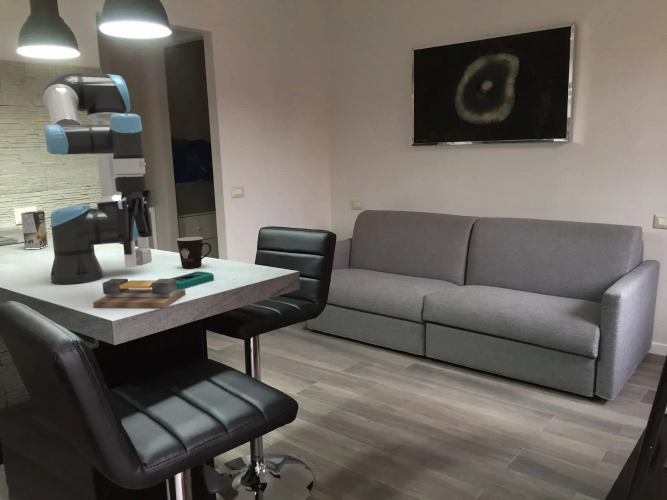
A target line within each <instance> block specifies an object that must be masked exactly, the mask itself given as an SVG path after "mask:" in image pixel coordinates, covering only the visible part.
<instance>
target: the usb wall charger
mask: <svg viewBox="0 0 667 500" xmlns="http://www.w3.org/2000/svg"><path fill="white" fill-rule="evenodd" d="M135 252H136V264H137V266H143V265H146V264H149V263H152V262H153V261H152V250H151V248H150V247H149V248H138V247H137V248H135Z"/></svg>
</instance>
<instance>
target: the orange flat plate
mask: <svg viewBox="0 0 667 500" xmlns="http://www.w3.org/2000/svg"><path fill="white" fill-rule="evenodd" d="M154 281H156V280H150V279H149V280H146V279H145V280H143V279H141V280H138V279H137V280H133V279H132V280H131V279H130V280H128V282H126V283H124V284H122V285H120V286H119V287H120V289H152V282H154Z"/></svg>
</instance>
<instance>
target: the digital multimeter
mask: <svg viewBox="0 0 667 500" xmlns="http://www.w3.org/2000/svg"><path fill="white" fill-rule="evenodd" d="M169 279H176V288H177V289H185V290H186V289H188V288H191V286H192V287H194V286H198V284H199V285H203V284H204V283H205V284H206V283H209V282H212V281H214V280H215V275H214V274H213V273H212V272H207V271H198V270H197V271H194V272H190V273H186V274H183V275H179V276H174V277H170V278H169Z"/></svg>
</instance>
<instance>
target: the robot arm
mask: <svg viewBox="0 0 667 500" xmlns="http://www.w3.org/2000/svg"><path fill="white" fill-rule="evenodd" d="M42 100H43V101H42V102H43V104H44V106H45V108H46V109H47V110H48V112H49V120H50V124H47V125H45V127H44V136H45V137H44V138H45V145H46V152H47V153H48V154H50V155H61V156H66V155H69V156H71V155H96V158H97V169H98V179H99V187H100V195H101V196H100V198H99V199H98V201H97V202H96V207H95V208H91V206H90V204H87V203H86V204H85V203H84V204H77V205H73V206H66V207H61V208H58V209H54V210H53V211H51V213H50V226H49V227H50V228H51V234H52V235H51V237H52V245H53V255H54V257H53V263H52V267H51V270H50V271H51V272H50V283H52V284H55V285H56V284H57V285H72V284H75V285H76V284H84V283H88V282H93V281H97V280H100V279H102V278H103V277H104V275H103V274H104V273H103V268H102V266H101V265H100V262H99V260H98V258H97V255H96V252H95V246H96V245H97V246H98V245H108V244H117V243H118V244H120V243H122V245H123V254H124V255H123V256H124V267H125V268H137V266H138V265H137V264H136V252H135V249H136V243H135V242H136V241H137V248H150V243H149V237H152V236H153V228H152V222H151V215H150V207H149V203H150V202H149V199H150V198H149V197H148V196H147V197H146V196H143V192H145V191H147V190H148V186H147V184H148V183H147V177H146V176H145V174H146V166H147V164H146V163H147V162H145V154H144V153H145V152H144V141H143V140H144V139H143V138H144V137H143V126H142V119H141V116H140V115H138V114H136V113H129V112H130V111H131V103H130V102H131V101H130V94H129V89H128V87H127V83H126V81H125V79H124V78H123V77H122V76H121V75H119V74H118V75H117V74H110V73H83V72H82V73H78V72H68V73H64V74H61V75H58V76H56V77H54V78H52V79H51V80H50V81H49V82H48V83H47V84H46V86H45V87H44V89H43V91H42ZM79 112H86V115H87V119H88V120H90V121H91V122H92V123H93V124H82V121H81V117H80V113H79Z"/></svg>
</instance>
